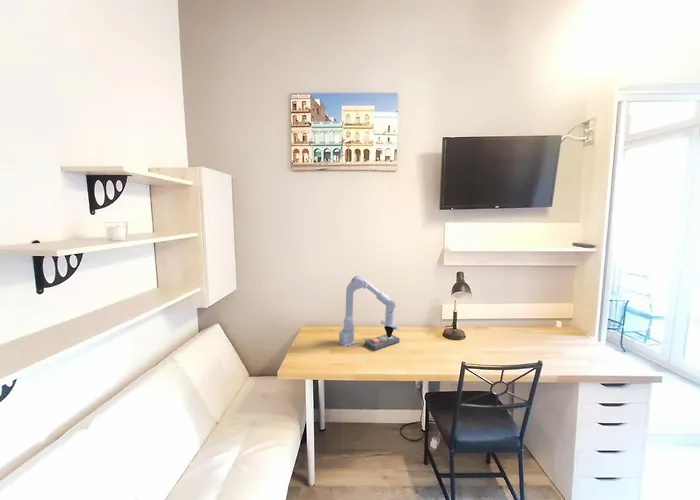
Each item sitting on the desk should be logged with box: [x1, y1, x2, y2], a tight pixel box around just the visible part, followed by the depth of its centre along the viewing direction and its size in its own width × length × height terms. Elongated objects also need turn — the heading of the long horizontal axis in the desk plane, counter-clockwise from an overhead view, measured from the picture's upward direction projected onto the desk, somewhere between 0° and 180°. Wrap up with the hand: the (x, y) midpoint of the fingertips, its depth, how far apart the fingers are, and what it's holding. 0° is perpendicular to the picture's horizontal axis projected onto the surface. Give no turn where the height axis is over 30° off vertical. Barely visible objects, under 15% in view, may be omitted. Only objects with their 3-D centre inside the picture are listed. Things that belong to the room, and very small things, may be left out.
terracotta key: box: [370, 337, 380, 344], centre depth 209 cm, size 4×4×2 cm
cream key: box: [377, 335, 387, 342], centre depth 213 cm, size 4×4×2 cm
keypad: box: [364, 333, 401, 352], centre depth 213 cm, size 21×10×3 cm, turn 127°
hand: (389, 337), depth 216 cm, fingers closed, pressing on sage key
